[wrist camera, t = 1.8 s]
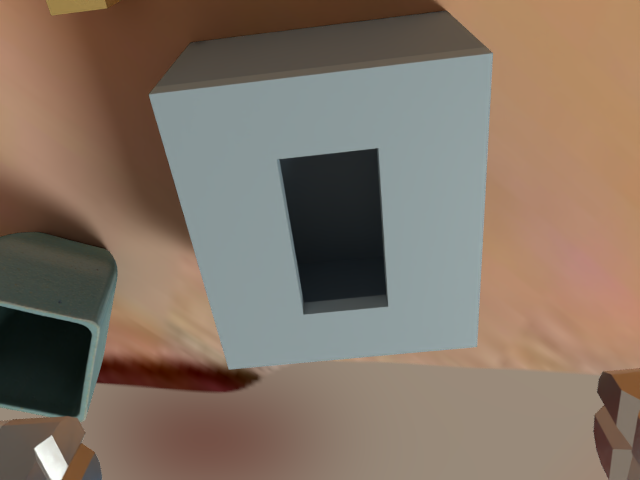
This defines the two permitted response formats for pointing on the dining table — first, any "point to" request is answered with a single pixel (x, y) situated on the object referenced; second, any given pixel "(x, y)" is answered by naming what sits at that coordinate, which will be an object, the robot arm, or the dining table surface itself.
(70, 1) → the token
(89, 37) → the dining table surface
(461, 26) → the tissue box
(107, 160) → the dining table surface
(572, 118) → the dining table surface
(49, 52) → the dining table surface
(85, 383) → the flower pot
